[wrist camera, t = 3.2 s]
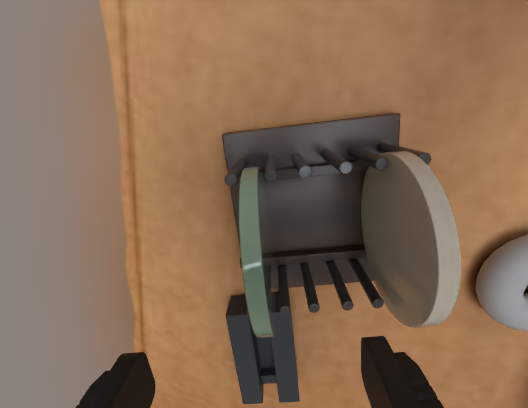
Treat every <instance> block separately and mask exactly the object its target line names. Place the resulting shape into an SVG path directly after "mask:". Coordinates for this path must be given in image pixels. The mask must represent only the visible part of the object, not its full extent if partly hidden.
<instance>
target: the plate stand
mask: <svg viewBox="0 0 528 408" xmlns="http://www.w3.org/2000/svg"><path fill="white" fill-rule="evenodd" d="M275 299H276V331H275V336H274V337H269V338H258V337H256V336H255V334H254V331H253V329H252V325H251V322H250V318H249V316H248V314H247V302H246V296H245V295H236V296H231V300H230V301H229V305H228V309H227V313H226V319H227V324H228V330H229V335H230V340H231V345H232V350H233V355H234V360H235V365H236V370H237V375H238V380H239V385H240V390H241V396H242V401H243V404H257V403H263V384H265V383H277V388H278V395H279V402H299V401H300V399H299V389H298V379H297V369H296V359H295V349H294V339H293V329H292V319H291V310H290V313H289V314H287V315H283V314H281V313H280V309H279V292H275Z"/></svg>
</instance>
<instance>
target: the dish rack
mask: <svg viewBox="0 0 528 408" xmlns="http://www.w3.org/2000/svg"><path fill="white" fill-rule="evenodd" d="M399 131H400V113H392V114H383V115H375V116H366V117H358V118H349V119H341V120H332V121H324V122H315V123H307V124H298V125H290V126H281V127H273V128H264V129H256V130H247V131H239V132H230V133H224V134H222V138H223V145H224V151H225V157H226V164H227V170H228V174H227V175H226V177H225V182H226V184H227V185H229V186H230V189H231V195H232V201H233V207H234V214H235V220H236V226H237V232H238V239H239V245H240V233H239V188H240V179H241V174H242V171H243V169H244V168H247V167H256V166H258V167H260V169H261V172H262V175H263V180H264V186H265V192H266V199H267V207H268V215H269V223H270V233H271V243H272V254H273V266H274V281H275V288H279V309H280V313H281V314H283V315H287V314H289V313H290V310H291V309H290V299H289V289H288V287H300V286H304V288H305V293H306V298H307V303H308V308H309V311H310V312H313V313H315V312H318V311H319V309H320V307H319V303H318V299H317V295H316V291H315V287H314V285H326V284H334V286H335V289H336V291H337V294H338V297H339V299H340V302H341V305H342V307H343V309H344V310H351V309H352V308H353V302H352V300H351V298H350V295H349V293H348V291H347V288H346V286H345V284H344V283H351V282H360V283H361V285H362V287H363V289H364V291H365V293H366V294H367V296H368V298H369V300H370V302H371V304H372V306H373V307H374V308H381V307H382V306H383V304H384V302H383V300H382V299H381V297H380V295H379V294H378V292H377V290H376V289H375V287H374V285H373V284H372V282H371V281H374V279H373V276H372V273H371V270H370V267H369V263H368V259H367V255H366V251H365V245H364V240H363V233H362V222H361V198H362V189H363V183H364V179H365V175H366V172H367V170H368V167H369V166H371V167H373V168H375V169H377V170H380V171H381V170H384V169H386V168H387V167H388V160H387V158H385V157H382V156H379V154H381V153H385V152H394V151H408V152H410V153H413V154H415V155H416V156H418V157H419V158H421V159H422V160H423V161H424V162H425V163H426V164H427V165H428V164H429V163H430V161H431V156H430V154H428V153H426V152H421V151H417V150H413V149H408V148H404V147H400V146H399ZM240 251H241V249H240ZM240 265H241V268H242V262H241V258H240ZM247 314H248V316H249V313H248V308H247Z"/></svg>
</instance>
